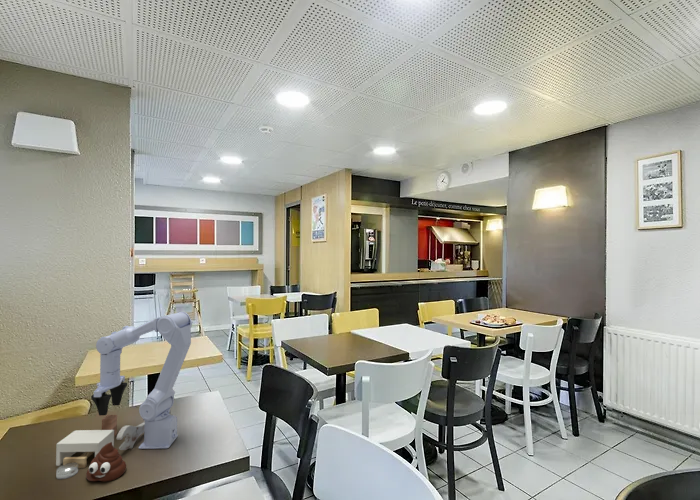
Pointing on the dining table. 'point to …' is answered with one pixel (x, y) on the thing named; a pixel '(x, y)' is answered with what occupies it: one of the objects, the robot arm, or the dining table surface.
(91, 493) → the dining table surface
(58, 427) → the dining table surface
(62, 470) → the steel token
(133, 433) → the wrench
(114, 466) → the poop emoji
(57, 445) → the white step stool
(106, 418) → the push blade
